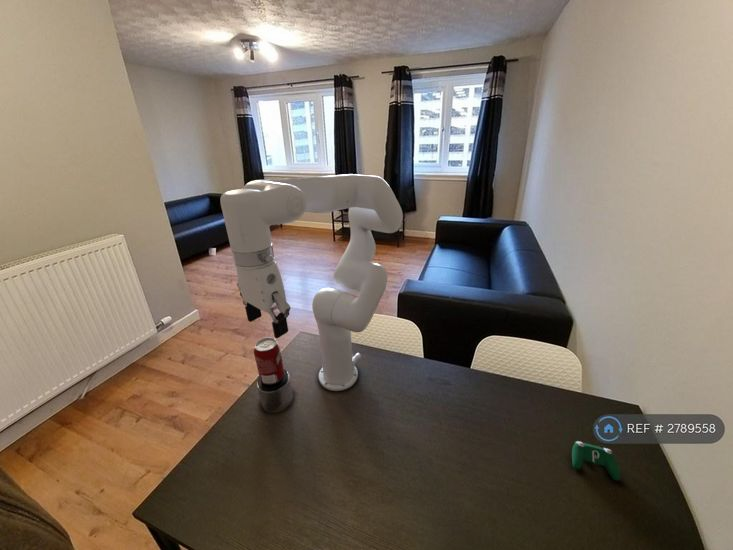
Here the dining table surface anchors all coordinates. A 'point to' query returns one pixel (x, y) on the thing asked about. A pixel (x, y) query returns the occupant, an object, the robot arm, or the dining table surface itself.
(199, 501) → the dining table surface
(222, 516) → the dining table surface
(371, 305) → the robot arm
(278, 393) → the metal cup
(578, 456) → the gaming controller
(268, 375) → the soda can
